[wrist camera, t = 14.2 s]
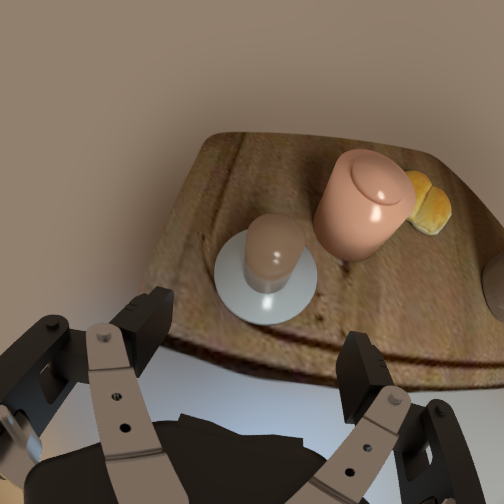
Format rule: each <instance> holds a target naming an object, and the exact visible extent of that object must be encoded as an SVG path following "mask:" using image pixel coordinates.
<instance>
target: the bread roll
mask: <svg viewBox="0 0 504 504" xmlns="http://www.w3.org/2000/svg"><path fill="white" fill-rule="evenodd" d="M405 173H406V175H407V176H408V177H409V179H410V181H411V183H412V185H413V187H414V190H415V194H416V203H415V207H414V210H413V211H412V213H411V214H410V215H409V216H408V217H407V218H406V220H407V221H409V222H411V223H412V225H413V226H414V227H415V228H416V229H417V230H419V231H421V232H422V233H424V234H427V235H436V234H438V233H439V232H440V230H441V229H442V228H443V227H444V225H445V224H446V222H447V221H448V219H449V218H450V216H451V215H452V214H451V205H450V202H449V199H448V197H447V195H446V194H445V193H444V192H443V191H442V190H441V189H439V188H436V187H434V186H432V184H431V182H430V180H429V179H428V177H427V176H426V175H425V174H423V173H421V172H418V171H406V172H405Z"/></svg>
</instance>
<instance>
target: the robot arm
mask: <svg viewBox="0 0 504 504" xmlns="http://www.w3.org/2000/svg"><path fill="white" fill-rule="evenodd" d="M482 279H483V290H484V294H485V298H486V301H487V304H488V306H489V308H490V310H491V311H492V313H493V315H494V316H495V317H496V318H497V319H499V320H500V321H503V322H504V251H503V252H501V253H500V254H499V255H497V256H496V257H494V258H493V259H492V260H490V261H489V262H488V263H487V264H486V265H485V267H484V270H483V276H482ZM173 298H174V292H173V290H170V289H166V288H162V287H159V286H157V287H156V288H155V289H154V290H153V291H152V292H151V293H150V294H149V295H148V294H145V293H144V294H141V295H139V296H137V297H135V298H134V299H133V300H132V301H130V302H129V304H128V305H126V306H125V308H124V309H122V310H121V311H120V312H119V313H118V314H117V315H116V316H115V317H114V318H113V319H112V320H111V321H110V322H109V323H99V324H95V325H93V326H91V327H90V328H89V329H88V330H87V331H80V330H74V329H69V323H68V321H67V319H66V318H64V317H63V316H60V315H48V316H45V317H43V318H41V319H40V320H39V321H38V322H36V323H35V324H34V325H33V326H32V327H31V328H30V329H28V330H27V331H26V332H25V333H24V334H23V335H22V336H21V337H20V338H19V339H17V340H16V341H15V342H14V343H13V344H12V345H11V346H10V347H9V348H8V349H7V350H6V351H5V352H4V353H3V354H2V355H1V356H0V479H3V480H7V481H8V482H10V483H11V484H12V485H14V486H15V487H16V488H18V489H19V490H20V491H22V492H23V493H24V504H369V502H368V501H366V500H365V499H364V498H363V496H364V494H365V493H366V491H367V490H368V488H369V487H370V486H371V484H372V482H373V481H374V479H375V478H376V476H377V474H378V473H379V471H380V470H381V468H382V466H383V465H384V463H385V461H386V460H387V458H388V456H389V454H390V452H391V451H392V450H393V451H394V456H395V462H396V468H397V474H398V480H399V487H400V494H401V502H402V504H486V502H485V499H484V495H483V491H482V488H481V484H480V481H479V478H478V475H477V471H476V469H475V466H474V463H473V460H472V457H471V454H470V451H469V448H468V446H467V443H466V441H465V438H464V435H463V433H462V430H461V428H460V425H459V423H458V421H457V418H456V416H455V414H454V411H453V409H452V408H451V406H450V405H449V404H448V403H446V402H445V401H443V400H439V399H433V400H431V401H430V402H429V403H428V404H427V406H426V407H423V406H420V405H416V404H413V403H411V399H410V397H409V395H408V394H407V393H406V392H405V391H404V390H402V389H401V388H399V387H396V386H395V385H394V383H393V380H392V378H391V375H390V373H389V370H388V368H387V365H386V363H385V362H384V358H383V356H382V353H381V352H380V351H379V350H378V349H377V348H376V346H375V345H371V342H370V340H369V337H368V335H367V334H366V333H361V332H355V331H350V332H349V334H348V336H347V338H346V340H345V342H344V345H343V347H342V349H341V351H340V353H339V356H338V358H337V361H336V375H337V380H338V386H339V391H340V397H341V402H342V409H343V415H344V421H345V423H346V424H355V428H354V429H353V430H352V432H351V433H350V434H349V436H348V437H347V438H346V439H345V440H344V442H343V443H342V444H341V445H340V447H339V448H338V449H337V450H336V451H335V453H334V454H333V455H332V456H331V457H330V458H329V459H328V460H326V459H325V458H324V457H323V456H321V455H320V454H318V453H316V452H314V451H312V450H310V449H308V448H305V447H303V438H296V437H288V436H281V435H240V434H237V433H235V432H232V431H230V430H228V429H226V428H223V427H221V426H219V425H217V424H215V423H213V422H210V421H207V420H203V419H199V418H195V417H191V416H189V415H185V414H182V413H181V414H180V417H179V419H178V421H156V422H151V419H150V417H149V414H148V411H147V408H146V406H145V403H144V400H143V397H142V394H141V391H140V388H139V385H138V382H137V379H136V377H137V378H139V377H140V375H141V374H142V372H143V370H144V369H145V367H146V366H147V364H148V363H149V361H150V359H151V358H152V356H153V355H154V353H155V352H156V350H157V349H158V347H159V346H160V344H161V343H162V341H163V339H164V338H165V336H166V335H167V333H168V332H169V329H170V327H171V322H172V312H173ZM47 364H48V366H47V367H46V368H45V366H46V365H47ZM44 368H45V369H44ZM43 369H44V370H43ZM42 370H43V371H42ZM41 371H42V372H41ZM40 373H41V374H40ZM77 382H80V383H86V384H90V389H91V396H92V402H93V408H94V413H95V418H96V423H97V428H98V432H99V436H100V440H101V442H99V443H96V444H93V445H91V446H87V447H85V448H82V449H79V450H76V451H72V452H69V453H66V454H63V455H59V456H56V457H52V458H49V459H46V460H43V461H41V462H39V460H40V455H41V452H42V443H41V440H40V438H39V437H40V436H41V434H42V433H43V431H44V430H45V428H46V427H47V425H48V424H49V422H50V421H51V419H52V418H53V416H54V415H55V413H56V412H57V410H58V409H59V407H60V406H61V404H62V403H63V402H64V400H65V399H66V397H67V396H68V394H69V393H70V392H71V390H72V389H73V387H74V386H75V385H76V383H77ZM429 445H430V448H431V452H432V456H433V458H432V462H431V464H430V465H429V460H428V457H427V453H426V448H427V447H428V446H429Z"/></svg>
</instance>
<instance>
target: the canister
mask: <svg viewBox="0 0 504 504" xmlns="http://www.w3.org/2000/svg"><path fill="white" fill-rule="evenodd" d="M415 203H416V194H415V190H414V187H413V185H412V183H411V181H410V179H409V177H408V176H407V175H406V173H405V172H404V171H403V170H402V169H401V168H400V167H399V166H398V165H397V164H396V163H395V162H393V161H392V160H391V159H389V158H387V157H386V156H384V155H382V154H380V153H377V152H374V151H371V150H366V149H354V150H350V151H347V152H345V153H343V154H342V155H341V156H340V157H339V158H338V160H337V162H336V164H335V167H334V169H333V172H332V174H331V176H330V179H329V181H328V184H327V186H326V188H325V191H324V193H323V195H322V198H321V200H320V202H319V205H318V207H317V209H316V211H315V214H314V218H313V228H314V232H315V235H316V237H317V239H318V241H319V242H320V244H321V245H322V246H323V247H324V248H325V249H326V250H327V251H328V252H329V253H331V254H332V255H334V256H335V257H337V258H339V259H342V260H345V261H350V262H359V261H364V260H366V259H368V258H370V257H371V256H372V255H374V254H375V252H376V251H377V250H378V249H379V248H380V247H381V246H382V245H383V244H384V243H385V242H386V241H387V240H388V239H389V237H390V236H391V235H392V234H393V233H394V232H395V231H396V230H397V229H398V228H399V226H400V225H401V224H402V223H403V222H404V221H405V220H406V218H407V217H408V216H409V215H410V214H411V213H412V211H413V210H414V207H415Z"/></svg>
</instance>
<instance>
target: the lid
mask: <svg viewBox="0 0 504 504" xmlns="http://www.w3.org/2000/svg"><path fill="white" fill-rule="evenodd" d="M214 279H215V285H216V289H217V292H218V295H219V297H220V299H221V301H222V302H223V304H224V305H225V306H226V308H227V309H228V310H229V311H230V312H231V313H233V314H234V315H235V316H237V317H238V318H240V319H242V320H244V321H246V322H249V323H252V324H256V325H267V326H269V325H277V324H281V323H284V322H286V321H289V320H290V319H292V318H294V317H295V316H297V315H298V314H299V313H300V312H301V311H302V310H303V309H304V308H305V307H306V306H307V305H308V303H309V302H310V300H311V299H312V297H313V295H314V292H315V289H316V284H317V269H316V264H315V262H314V259H313V257H312V255H311V253H310V251H309V250H308V248H307V247H306V246H305V236H304V232H303V230H302V228H301V227H300V225H299V224H298V223H297V222H296V221H294V220H293V219H292V218H290V217H288V216H286V215H283V214H278V213H270V214H265V215H262V216H260V217H258V218H256V219H255V220H254V221H253V222H252V223H251V224H250V226H249V228H248V229H247V230H244V231H242V232H240V233H238V234H236V235H234V236H233V237H232V238H231V239H229V240H228V241H227V242H226V243H225V244H224V246H223V247H222V249H221V250H220V252H219V254H218V256H217V259H216V262H215V267H214Z"/></svg>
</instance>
